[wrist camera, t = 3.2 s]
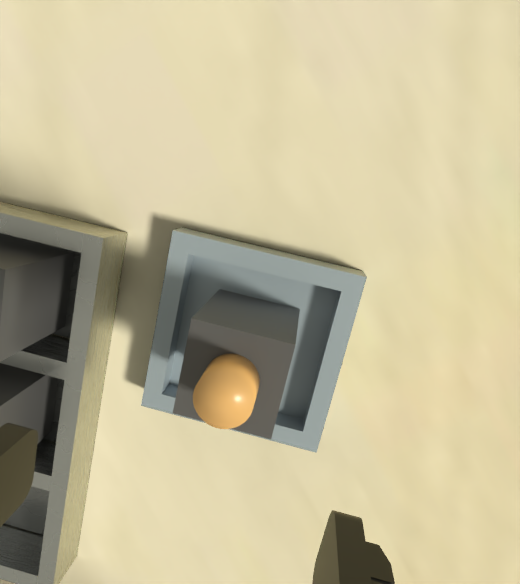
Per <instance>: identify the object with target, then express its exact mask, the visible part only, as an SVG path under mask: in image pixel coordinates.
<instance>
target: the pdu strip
mask: <svg viewBox="0 0 520 584" xmlns="http://www.w3.org/2000/svg"><path fill="white" fill-rule="evenodd" d="M0 234H4V235H8V236H12V237H16V238H20V239H24V240H28V241H32V242H36V243H40V244H44V245H48V246H52V247H56V248H61V249H65V250H69V251H73V252H75V254H74V261H73V269H72V277H71V284H70V292H69V300H68V307H67V315H66V323H65V327H63V328H61V329H59V330H58V331H56V332H54V333H52V334H50V335H48V336H47V337H45V338H43V339H41V340H39V341H37V342H35V343H34V344H32V345H30V346H28V347H26V348H24V349H23V350H21V351H19V352H17V353H15V354H13V355H12V356H10V357H8V358H6V359H4V360H2V361H1V362H0V363H2V364H6V365H10V366H14V367H17V368H21V369H25V370H29V371H32V372H36V373H40V374H44V375H47V376H51V377H55V378H58V384H57V392H56V399H55V407H54V415H53V422H52V430H51V432H50V433H49V434H48V435H47V436H46V437H45V438H44V439H42V440H41V441H40V442H39V443H38V444H37V451H36V460H35V468H34V477H33V482H32V486H31V488H30V491H29V493H28V495H27V497H26V498H25V500H24V501H23V503H22V504H21V505H20V506H19V507H18V509H17V510H16V511H15V512H14V513H13V514H12V515H11V516H10V517H9V518H8V519H7V521H6V522H5V523H4V524H3V525H2V526H1V527H0V579H2V580H6V581H9V582H12V583H16V584H59V583H60V581H61V580H62V578H63V576H64V575H65V573H66V572H67V570H68V569H69V567H70V566H71V564H72V563H73V561H74V560H75V558H76V556H77V552H78V545H79V539H80V532H81V526H82V520H83V513H84V507H85V500H86V494H87V488H88V481H89V475H90V469H91V462H92V456H93V449H94V443H95V437H96V430H97V424H98V417H99V411H100V405H101V398H102V392H103V385H104V379H105V373H106V366H107V360H108V353H109V347H110V341H111V334H112V328H113V321H114V315H115V309H116V302H117V296H118V290H119V283H120V277H121V270H122V264H123V258H124V251H125V245H126V238H127V232H123V231H119V230H115V229H110V228H106V227H102V226H98V225H94V224H90V223H86V222H82V221H78V220H74V219H69V218H65V217H61V216H57V215H53V214H49V213H45V212H41V211H37V210H32V209H28V208H24V207H20V206H16V205H12V204H8V203H4V202H0ZM58 335H59V336H58ZM62 336H63V337H62ZM66 337H67V338H66Z"/></svg>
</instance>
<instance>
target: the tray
mask: <svg viewBox="0 0 520 584" xmlns="http://www.w3.org/2000/svg"><path fill="white" fill-rule="evenodd" d="M366 278H367V277H366V275H365V274H364V272H363V271H361V270H357V269H353V268H348V267H344V266H340V265H336V264H332V263H328V262H324V261H319V260H315V259H311V258H307V257H303V256H299V255H295V254H290V253H286V252H282V251H278V250H274V249H270V248H266V247H261V246H257V245H253V244H249V243H245V242H241V241H237V240H232V239H228V238H224V237H220V236H216V235H212V234H208V233H203V232H199V231H195V230H191V229H187V228H183V227H182V228H179V229H175V230H173V232H172V237H171V243H170V248H169V254H168V259H167V265H166V271H165V276H164V282H163V287H162V293H161V298H160V304H159V310H158V315H157V321H156V326H155V332H154V337H153V343H152V349H151V354H150V360H149V365H148V371H147V376H146V382H145V388H144V393H143V399H142V404H141V406H144V407H148V408H152V409H155V410H159V411H163V412H167V413H170V414H174V413H173V408H174V403H175V398H176V393H177V388H178V383H179V378H180V373H181V368H182V363H183V358H184V353H185V348H186V343H187V338H188V333H189V328H190V323H191V318H192V317H193V316H194V315H195V314H196V313H197V312H198V311H199V310H200V309H201V308H202V307H203V306H204V305H205V304H206V303H207V302H208V301H209V300H210V298H211V297H212V296H213V295H214V294H215V293H216V292H217V291H218V290H219V289H222V290H226V291H230V292H234V293H238V294H242V295H246V296H250V297H254V298H258V299H262V300H266V301H270V302H274V303H278V304H282V305H286V306H290V307H294V308H298V309H300V312H299V320H298V328H297V337H296V345H295V349H294V353H293V356H292V360H291V364H290V368H289V372H288V376H287V380H286V384H285V387H284V391H283V395H282V399H281V403H280V407H279V411H278V415H277V418H276V422H275V426H274V430H273V434H272V438H271V439H268V440H271V441H275V442H279V443H283V444H286V445H290V446H294V447H297V448H301V449H305V450H309V451H312V452H317V449H318V445H319V442H320V438H321V435H322V431H323V428H324V424H325V421H326V417H327V414H328V410H329V407H330V403H331V400H332V396H333V393H334V389H335V386H336V382H337V379H338V375H339V372H340V368H341V365H342V361H343V358H344V354H345V351H346V347H347V344H348V340H349V337H350V333H351V330H352V326H353V323H354V319H355V316H356V312H357V309H358V306H359V302H360V299H361V295H362V292H363V288H364V285H365V281H366ZM174 415H178V414H174ZM178 416H181V415H178ZM182 417H185V416H182ZM185 418H189V417H185ZM189 419H193V418H189ZM193 420H196V419H193ZM197 421H200V420H197ZM200 422H204V421H200ZM204 423H206V422H204ZM230 430H234V429H230ZM234 431H237V430H234ZM238 432H241V431H238ZM241 433H245V432H241ZM245 434H249V433H245ZM249 435H252V434H249ZM253 436H256V435H253ZM256 437H260V436H256ZM260 438H264V437H260ZM264 439H267V438H264Z"/></svg>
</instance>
